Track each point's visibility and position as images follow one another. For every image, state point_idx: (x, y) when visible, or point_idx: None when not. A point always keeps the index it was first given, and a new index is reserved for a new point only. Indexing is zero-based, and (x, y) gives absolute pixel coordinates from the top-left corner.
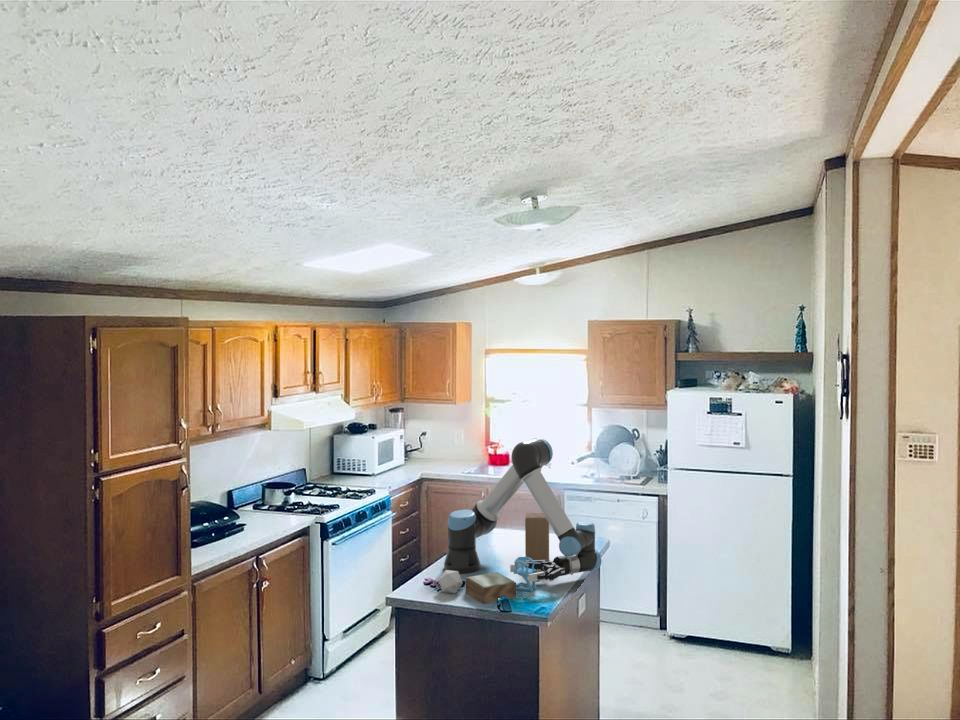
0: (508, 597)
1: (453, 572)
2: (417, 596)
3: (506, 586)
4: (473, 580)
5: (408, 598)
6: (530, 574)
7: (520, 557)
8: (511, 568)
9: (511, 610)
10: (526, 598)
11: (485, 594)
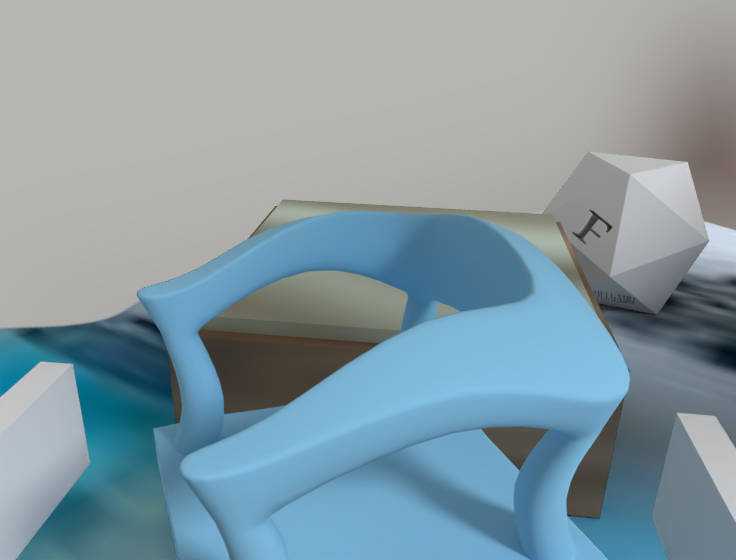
0: None
1: (610, 164)
2: None
3: None
4: (453, 210)
5: None
6: (36, 373)
7: (499, 253)
8: (666, 465)
9: (29, 339)
10: (66, 528)
11: None
